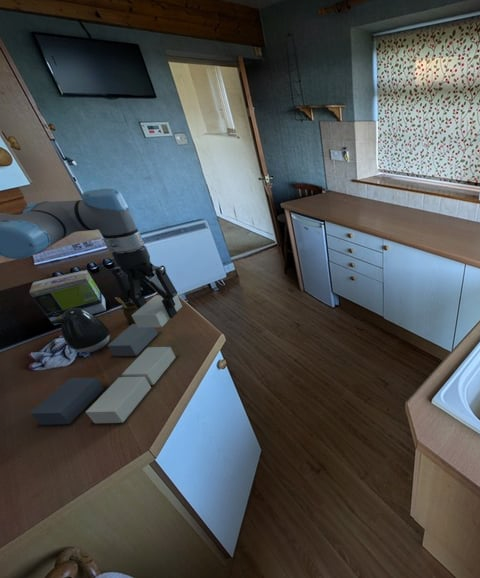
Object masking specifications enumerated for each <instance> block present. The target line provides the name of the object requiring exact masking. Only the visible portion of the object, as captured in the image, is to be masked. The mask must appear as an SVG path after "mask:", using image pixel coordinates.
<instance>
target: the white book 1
mask: <svg viewBox="0 0 480 578" xmlns="http://www.w3.org/2000/svg"><path fill="white" fill-rule="evenodd" d="M151 389H152V385H149V383H148V381H147V380H146V378H145V377H123V376H121V377H120V376H118V377H117V378H116V380H115V381H114V382H113V383H112V384H110V386H109V387H108V388H107V389H106V390H105V391H104V392H103V393H102V394H101V395H100V396H99V397H98V399H97V400H96V401H95V402H94V403H92V405H91V406H90V407H88V409H87V410H85V414H86V415H87V416H88V418H90V420H91V421H92V423H94V424H123V423H124V422H125V421H126V420H127V418H128V417H129V416H130V415H131V414H132V413H133V411H134V410H135V408H136V407H137V406H138V405H139V404H140V402H141V401H142V400H143V399H144V398H145V396H146V395H147V394H148V392H149V391H150V390H151Z"/></svg>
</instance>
